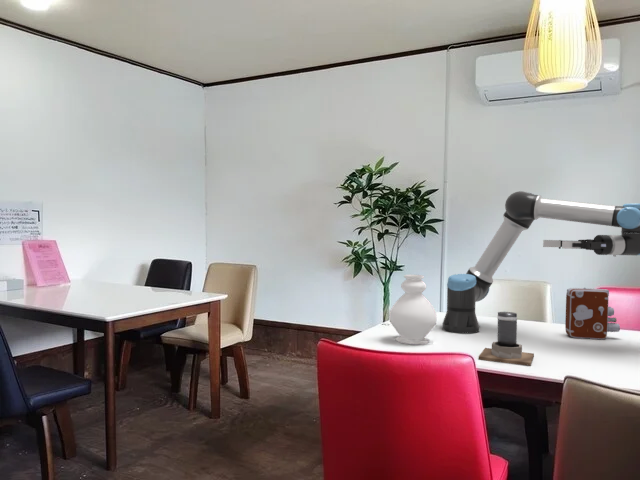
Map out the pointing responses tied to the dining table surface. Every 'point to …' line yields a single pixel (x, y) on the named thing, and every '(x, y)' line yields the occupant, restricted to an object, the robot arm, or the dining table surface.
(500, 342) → the tube
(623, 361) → the dining table surface
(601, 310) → the cine camera
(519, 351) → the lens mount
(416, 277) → the decorative vase
